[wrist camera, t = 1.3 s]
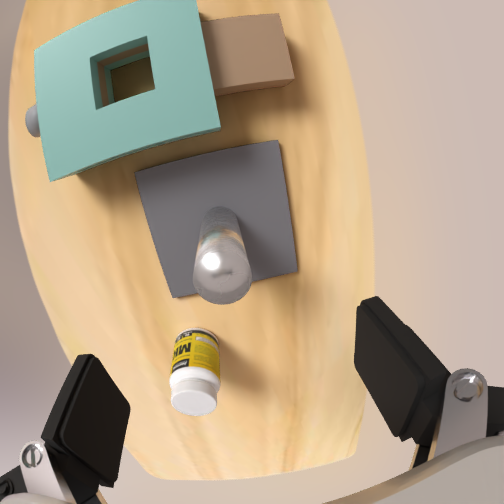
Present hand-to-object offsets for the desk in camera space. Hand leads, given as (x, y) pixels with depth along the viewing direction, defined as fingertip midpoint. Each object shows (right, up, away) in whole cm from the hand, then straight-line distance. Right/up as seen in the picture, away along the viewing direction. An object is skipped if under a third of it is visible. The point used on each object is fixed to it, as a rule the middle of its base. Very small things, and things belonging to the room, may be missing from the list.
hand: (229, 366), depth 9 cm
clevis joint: (-7, +18, +9) cm, 22 cm away
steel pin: (-2, +6, +14) cm, 16 cm away
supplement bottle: (-5, -6, +20) cm, 21 cm away
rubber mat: (-2, +6, +15) cm, 16 cm away
